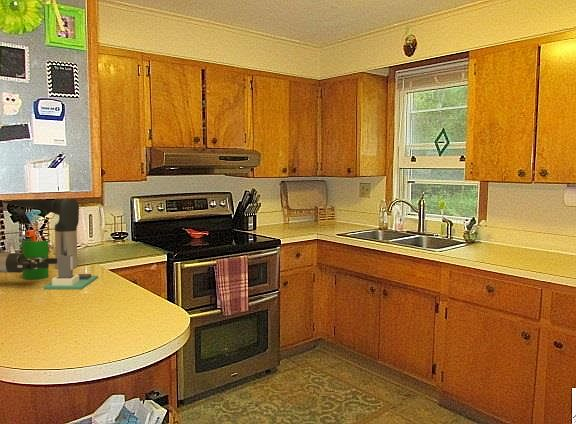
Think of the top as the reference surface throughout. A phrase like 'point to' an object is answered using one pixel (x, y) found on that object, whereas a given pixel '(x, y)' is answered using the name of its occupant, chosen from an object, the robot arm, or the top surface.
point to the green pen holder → (34, 255)
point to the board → (71, 282)
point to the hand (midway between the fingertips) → (52, 263)
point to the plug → (65, 266)
